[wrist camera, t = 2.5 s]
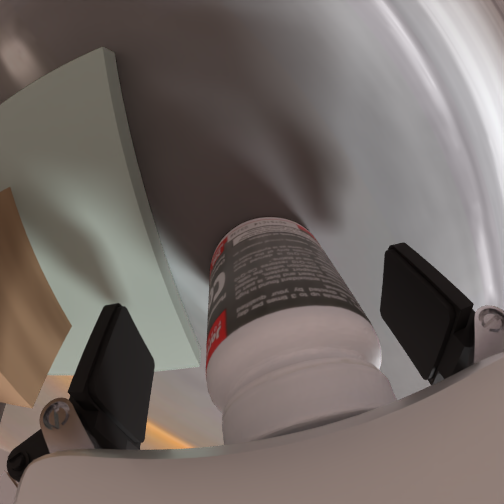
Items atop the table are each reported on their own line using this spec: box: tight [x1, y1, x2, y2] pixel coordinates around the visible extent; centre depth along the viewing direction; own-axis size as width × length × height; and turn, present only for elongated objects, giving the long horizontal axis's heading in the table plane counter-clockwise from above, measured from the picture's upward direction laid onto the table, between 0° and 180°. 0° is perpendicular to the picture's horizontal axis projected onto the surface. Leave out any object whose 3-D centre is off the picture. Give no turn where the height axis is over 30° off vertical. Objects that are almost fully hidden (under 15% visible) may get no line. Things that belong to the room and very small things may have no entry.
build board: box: [0, 47, 201, 375], centre depth 10 cm, size 18×14×1 cm
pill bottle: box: [206, 217, 397, 445], centre depth 9 cm, size 5×5×8 cm
